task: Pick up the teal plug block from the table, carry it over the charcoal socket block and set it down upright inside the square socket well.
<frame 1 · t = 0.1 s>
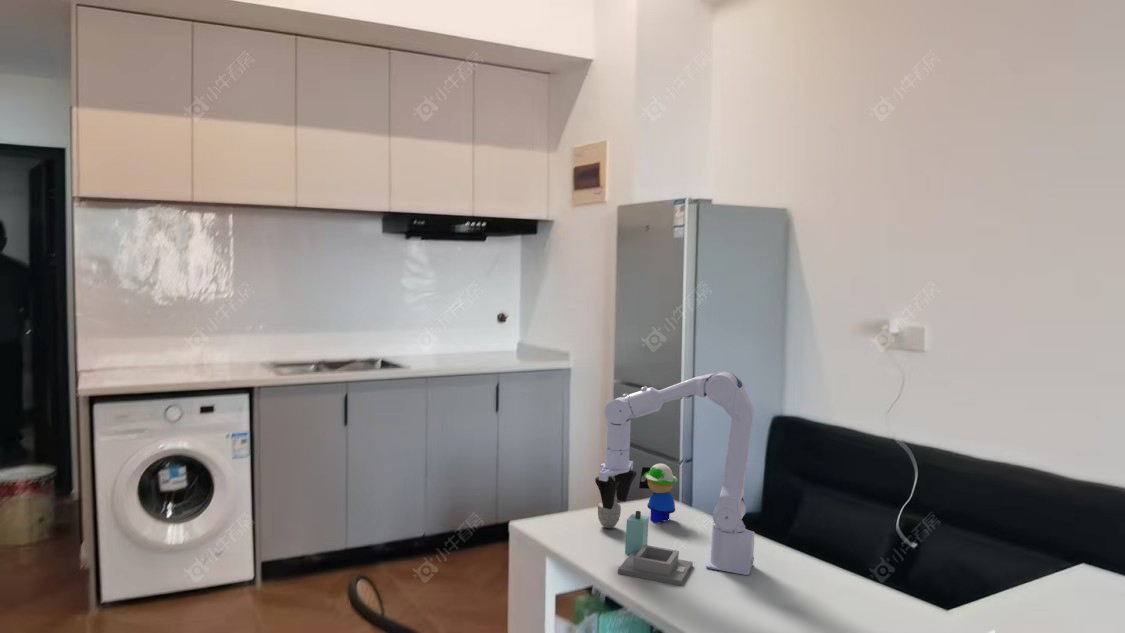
hand: (614, 504, 185), 10 cm above the table, tool pointing down, fingers open, 7 cm apart
plug: (636, 551, 183), on the table
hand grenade: (608, 527, 199), on the table
toy: (658, 519, 207), on the table
socket block: (655, 569, 172), on the table
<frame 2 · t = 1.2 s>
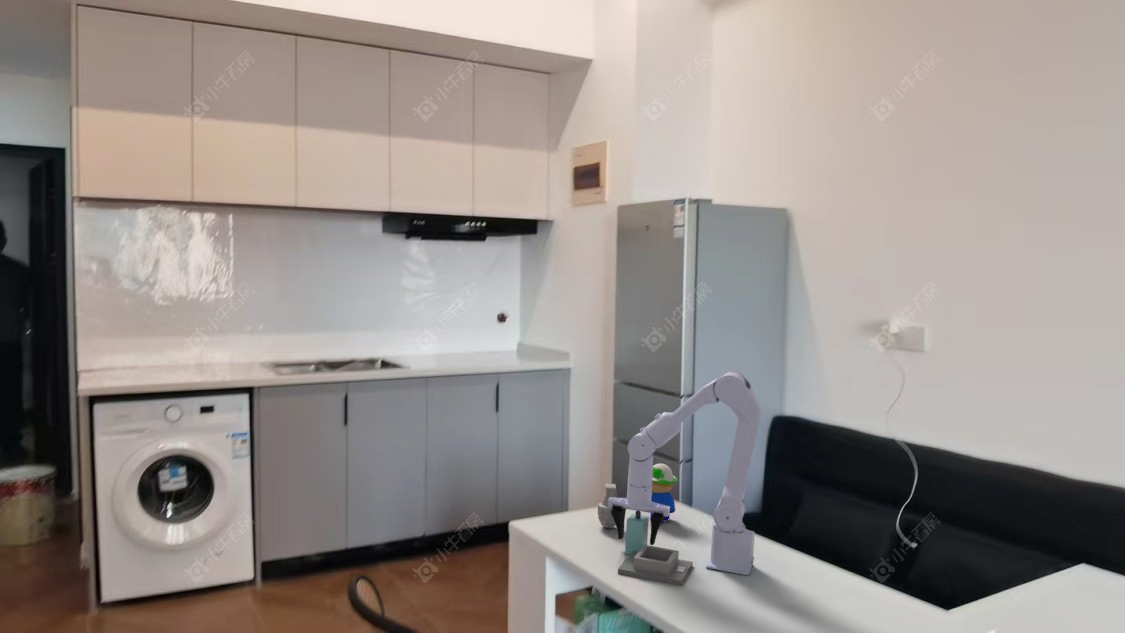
hand: (636, 540, 183), 2 cm above the table, tool pointing down, fingers open, 7 cm apart
nothing on the table moved.
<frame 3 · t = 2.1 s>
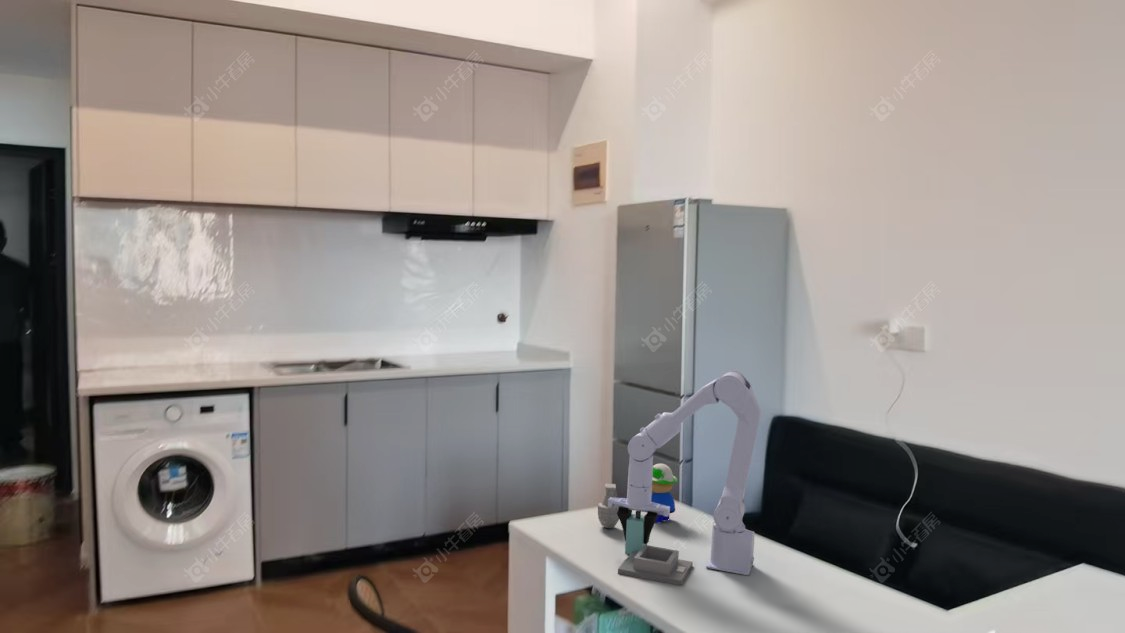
hand: (636, 541, 183), 2 cm above the table, tool pointing down, fingers closed on plug, 4 cm apart
plug: (636, 551, 183), on the table, touching gripper
everything else where it was.
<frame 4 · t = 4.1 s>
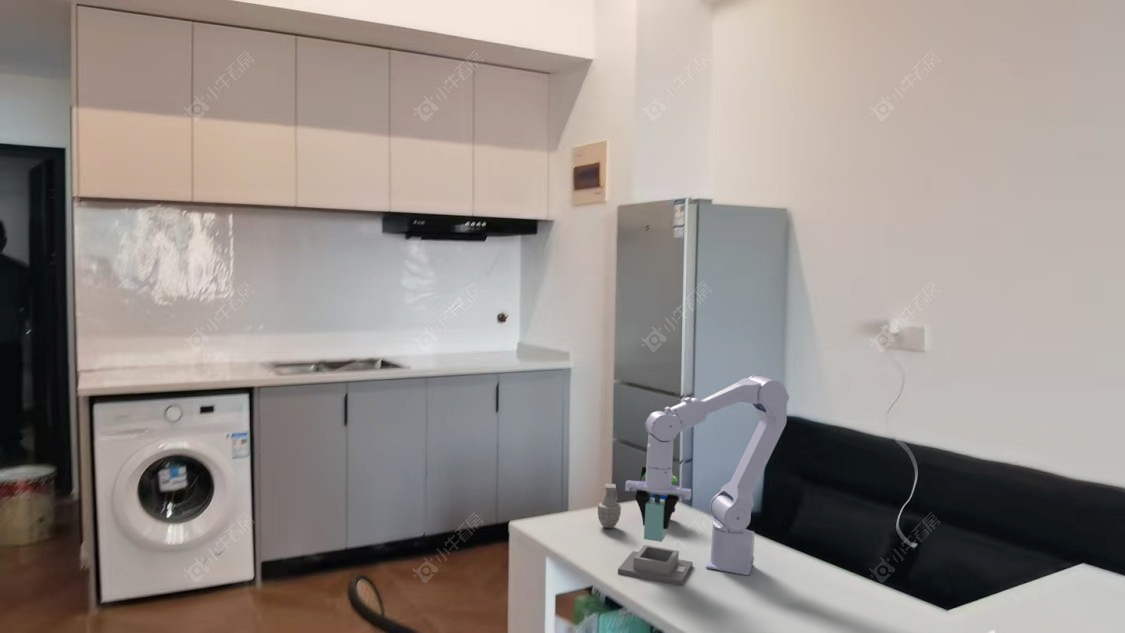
hand: (655, 526, 173), 9 cm above the table, tool pointing down, fingers closed on plug, 4 cm apart
plug: (655, 536, 173), point 7 cm above the table, touching gripper
everything else where it was.
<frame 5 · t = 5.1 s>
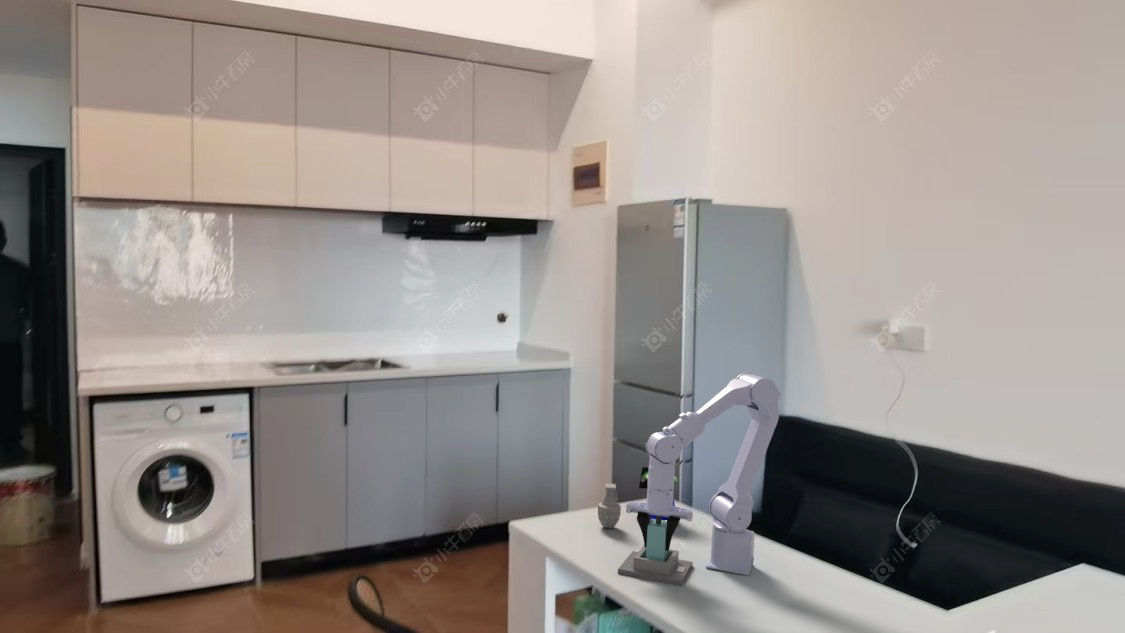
hand: (657, 547, 172), 5 cm above the table, tool pointing down, fingers closed on plug, 4 cm apart
plug: (656, 558, 172), point 3 cm above the table, touching gripper
everything else where it was.
when the fingers open (5 cm above the table, at t = 5.9 s): plug drops 1 cm, resting on socket block.
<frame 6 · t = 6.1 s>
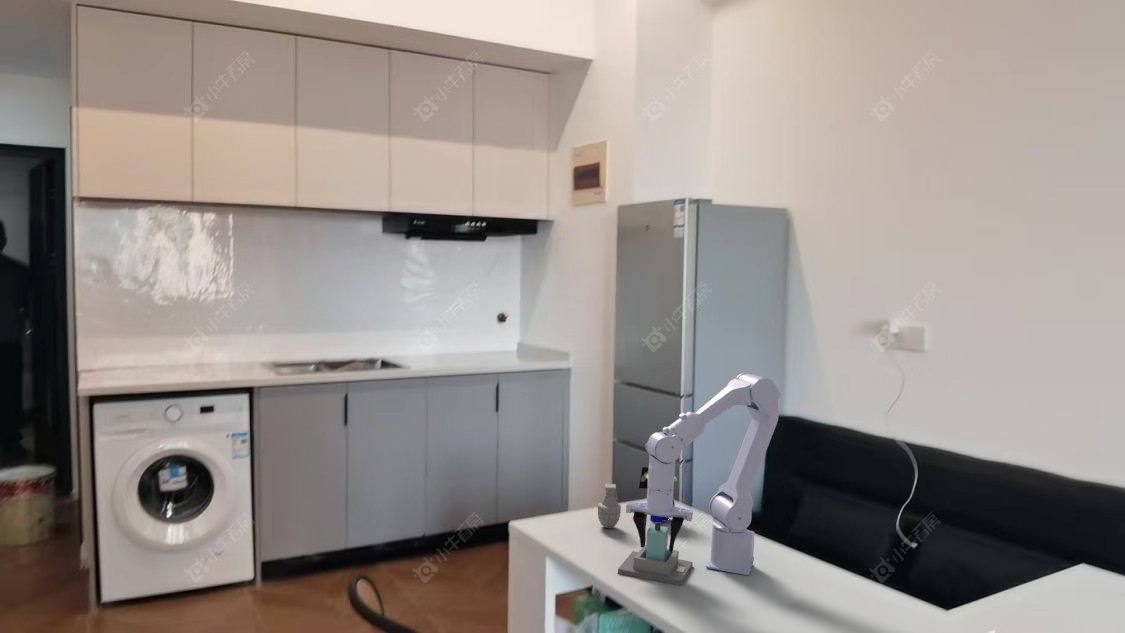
hand: (657, 548, 172), 5 cm above the table, tool pointing down, fingers open, 6 cm apart
plug: (656, 565, 172), point 1 cm above the table, touching socket block
everything else where it was.
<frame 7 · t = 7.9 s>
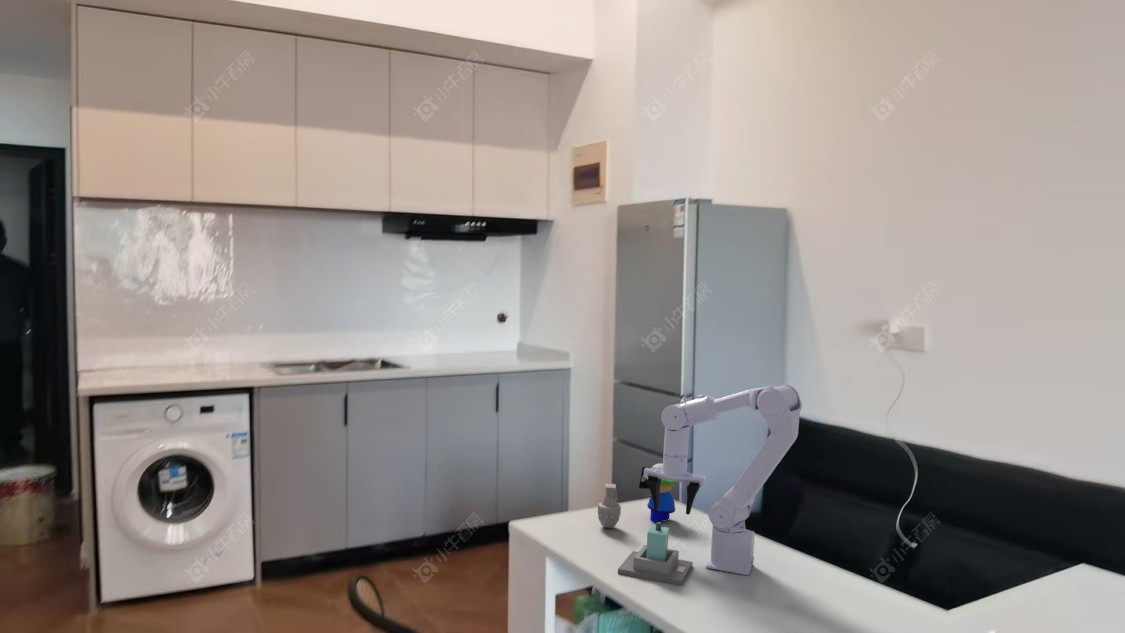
hand: (672, 510, 184), 9 cm above the table, tool pointing down, fingers open, 7 cm apart
nothing on the table moved.
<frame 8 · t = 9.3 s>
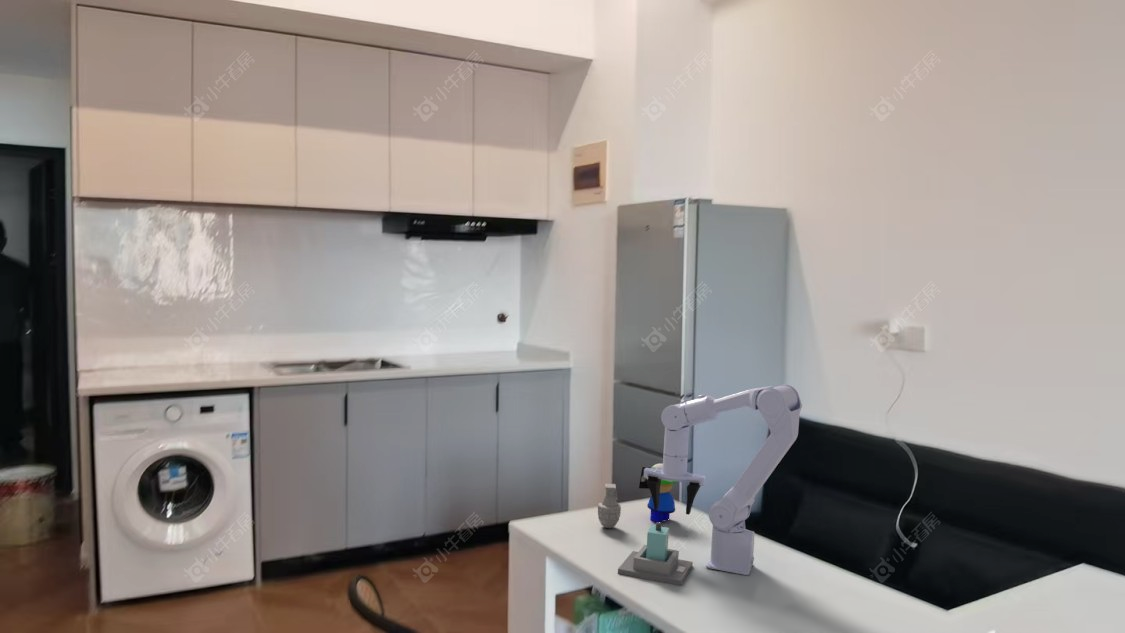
hand: (672, 510, 184), 9 cm above the table, tool pointing down, fingers open, 7 cm apart
nothing on the table moved.
at the end: plug 0.1 cm off-centre on the socket block, point 1.0 cm above the socket block's base; plug tilted 0°; the gripper is holding nothing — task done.
